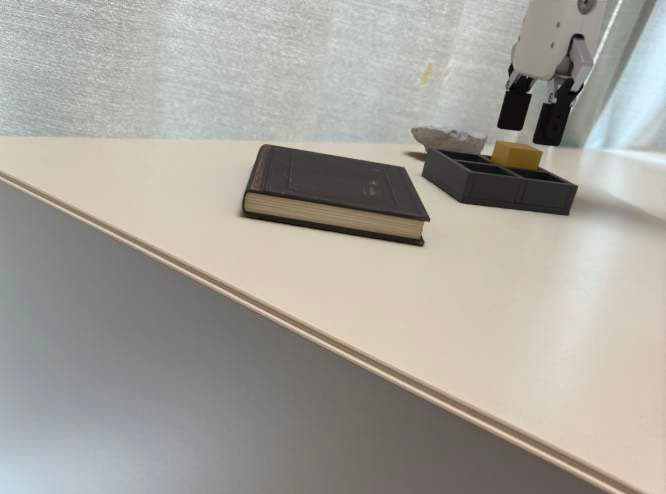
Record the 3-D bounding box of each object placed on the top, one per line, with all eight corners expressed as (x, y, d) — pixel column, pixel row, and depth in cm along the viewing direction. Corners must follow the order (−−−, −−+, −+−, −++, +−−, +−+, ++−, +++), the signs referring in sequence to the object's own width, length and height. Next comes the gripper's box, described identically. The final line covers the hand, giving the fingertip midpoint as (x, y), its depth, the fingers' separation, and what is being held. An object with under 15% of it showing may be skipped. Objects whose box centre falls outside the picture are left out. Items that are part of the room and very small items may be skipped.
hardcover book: (400, 189, 86) (405, 167, 85) (423, 245, 68) (430, 218, 66) (256, 165, 86) (259, 142, 84) (240, 215, 67) (243, 187, 66)
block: (516, 181, 97) (527, 144, 94) (531, 190, 93) (543, 151, 91) (485, 177, 96) (496, 140, 93) (499, 186, 92) (510, 147, 90)
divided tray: (519, 187, 98) (527, 160, 97) (568, 215, 88) (578, 186, 86) (421, 174, 96) (427, 147, 94) (460, 202, 85) (469, 172, 83)
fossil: (402, 125, 108) (471, 102, 108) (409, 175, 111) (476, 153, 111) (423, 130, 101) (497, 106, 100) (430, 183, 104) (502, 160, 104)
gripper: (656, -39, 75) (592, 155, 85) (570, -40, 89) (523, 127, 99) (586, -51, 74) (529, 148, 84) (510, -50, 88) (468, 121, 97)
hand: (526, 136), depth 91 cm, fingers open, 9 cm apart
